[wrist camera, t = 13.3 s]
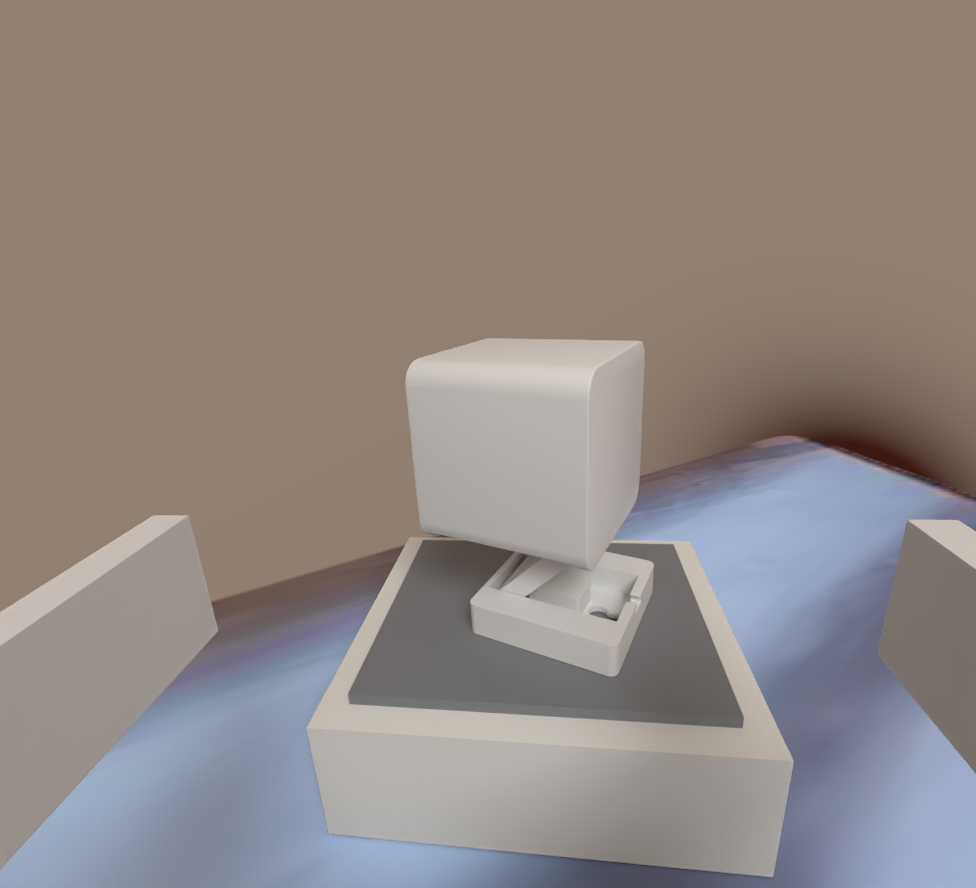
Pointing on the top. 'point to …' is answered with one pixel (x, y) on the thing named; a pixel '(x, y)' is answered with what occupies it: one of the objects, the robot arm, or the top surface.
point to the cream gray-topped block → (551, 727)
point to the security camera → (538, 485)
